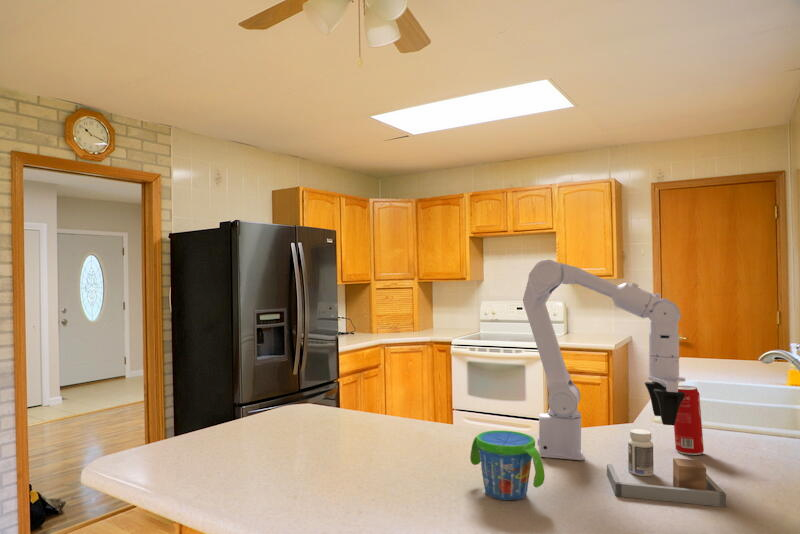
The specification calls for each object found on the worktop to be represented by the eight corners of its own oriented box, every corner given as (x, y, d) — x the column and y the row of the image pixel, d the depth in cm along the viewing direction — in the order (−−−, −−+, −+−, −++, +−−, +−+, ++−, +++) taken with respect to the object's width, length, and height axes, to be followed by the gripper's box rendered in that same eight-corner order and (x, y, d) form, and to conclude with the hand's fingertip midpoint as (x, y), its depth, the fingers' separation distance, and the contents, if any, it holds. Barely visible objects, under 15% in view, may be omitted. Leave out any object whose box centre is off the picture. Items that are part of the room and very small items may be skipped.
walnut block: (678, 496, 97) (678, 465, 97) (673, 487, 101) (673, 458, 102) (706, 499, 96) (706, 468, 96) (699, 489, 100) (699, 460, 100)
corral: (615, 495, 97) (615, 483, 97) (606, 475, 107) (606, 464, 107) (726, 507, 92) (726, 494, 92) (705, 484, 103) (705, 472, 103)
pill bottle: (658, 474, 108) (658, 432, 109) (645, 478, 106) (645, 435, 106) (636, 467, 112) (636, 427, 113) (623, 471, 110) (623, 430, 110)
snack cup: (455, 485, 101) (456, 431, 101) (497, 475, 106) (497, 424, 106) (514, 516, 87) (514, 453, 88) (558, 503, 93) (558, 444, 93)
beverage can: (707, 457, 120) (707, 390, 120) (676, 454, 121) (676, 388, 122) (698, 449, 126) (698, 385, 126) (668, 447, 127) (668, 383, 127)
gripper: (694, 361, 105) (695, 430, 105) (675, 352, 119) (675, 413, 119) (656, 359, 107) (656, 427, 106) (641, 351, 121) (641, 411, 120)
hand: (663, 420), depth 113 cm, fingers open, 7 cm apart
